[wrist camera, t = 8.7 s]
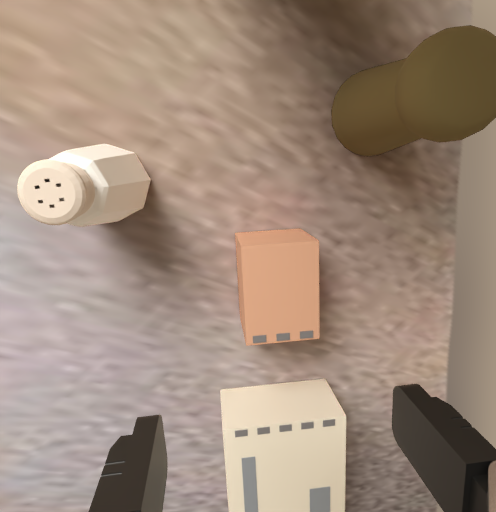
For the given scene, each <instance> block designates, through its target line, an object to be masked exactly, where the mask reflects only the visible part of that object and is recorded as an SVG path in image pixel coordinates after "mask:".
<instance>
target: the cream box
mask: <svg viewBox="0 0 496 512" xmlns="http://www.w3.org/2000/svg"><path fill="white" fill-rule="evenodd" d="M220 394H221V411H222V427H223V441H224V454H225V468H226V481H227V494H228V507H229V512H345V472H346V415H345V413H344V411H343V409H342V407H341V406H340V404H339V402H338V400H337V399H336V397H335V395H334V393H333V392H332V390H331V388H330V386H329V384H328V383H327V381H326V379H316V380H307V381H297V382H288V383H278V384H269V385H259V386H250V387H241V388H231V389H222V390H220Z"/></svg>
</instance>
